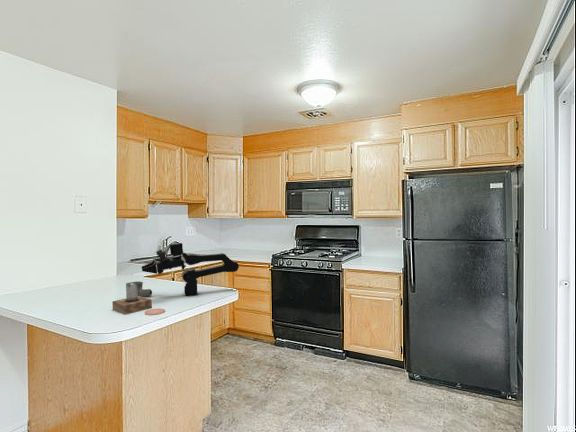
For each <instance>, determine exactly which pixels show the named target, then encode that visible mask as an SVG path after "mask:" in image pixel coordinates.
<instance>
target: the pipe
mask: <svg viewBox="0 0 576 432" xmlns="http://www.w3.org/2000/svg"><path fill="white" fill-rule="evenodd" d="M136 282H137V292H138V296H141V297H151V296H152V295H153V291H152V289H150V288H148V289H147V288H146V289H143V283H144V282H143V281H137V280H136Z"/></svg>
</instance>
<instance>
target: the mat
mask: <svg viewBox="0 0 576 432" xmlns="http://www.w3.org/2000/svg"><path fill="white" fill-rule="evenodd" d="M165 312H166V309H165V308H153V309H152V308H150V309H147V310H146V311H145V312H144V315H145V316H146V315H147V316H157V315H161V314H165Z"/></svg>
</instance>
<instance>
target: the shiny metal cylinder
mask: <svg viewBox="0 0 576 432" xmlns="http://www.w3.org/2000/svg"><path fill="white" fill-rule="evenodd" d="M125 290H126V291H125V293H126V297H125V299H126V302H128V303H130V302H135V301H138V292H137V281H131V282H126V283H125Z"/></svg>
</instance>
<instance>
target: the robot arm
mask: <svg viewBox="0 0 576 432" xmlns="http://www.w3.org/2000/svg"><path fill="white" fill-rule="evenodd" d="M168 246H169V250H170V251H169V252H170V255H171V256H173V257H169V256H168V257H167V256H166V255H167V253H166V251H163V250H162V249H161V248H160V249H159V250H157V251H155V253H156V255H157V256H158V257H155V258H153V260H152V261H151V262H149V263H147V264H144V265H142V266H141V271H142V272H143V273H150V274H156V275H161V274H163V273H164V271H165V270H172V269H174V268H175V269H176V268H181V269H182V270H183V271H182V272H181V278H182V280H183V281H184V282H185V283H184V286H183V287H184V291H183V293H184V295H185V297H188V296H189V297H190V296H198V295H199V293H198V280H197V279H199V278H202V277H207V276H211V275H215V274H220V273H235V272H237V271H238V270H239V267H240V266H239V264H238V262H236V261H234V260H232V259H231V258H229V257H228V256H227V254H225V253H222V252H221V253H214V254H213V253H212V254H194V253H186V252H184V249H183V248H184V247H183V246H184V245H183V243H182V242H180V243H179V242H177V243H176V242H175V243H170V244H169V245H168ZM183 258H184V259H183ZM218 261H222V262H223V264H221V265H220V264H219V265H215V266H211V267H210V266H209V267H207V268H206V267H205V268H202V269H196V268H194V267H191V268H187V265H188V266H193V265H197V264H200V263H206V262H207V263H208V262H218ZM185 264H186V265H185ZM185 268H186V269H185Z"/></svg>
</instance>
